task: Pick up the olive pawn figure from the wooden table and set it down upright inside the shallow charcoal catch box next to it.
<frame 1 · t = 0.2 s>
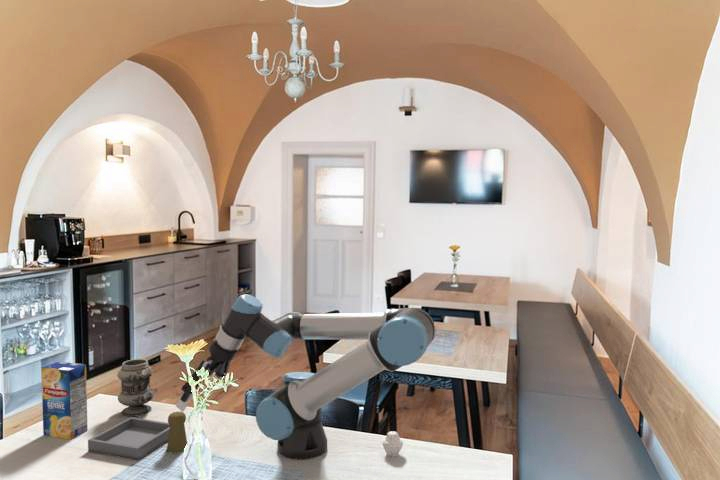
hand: (194, 400, 156), 16 cm above the table, tool tilted 30°, fingers open, 13 cm apart
stone urn vase: (136, 411, 189), on the table
olive pawn figure: (177, 449, 160), on the table
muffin: (392, 454, 158), on the table
catch box: (134, 442, 164), on the table
beverage box: (65, 433, 171), on the table
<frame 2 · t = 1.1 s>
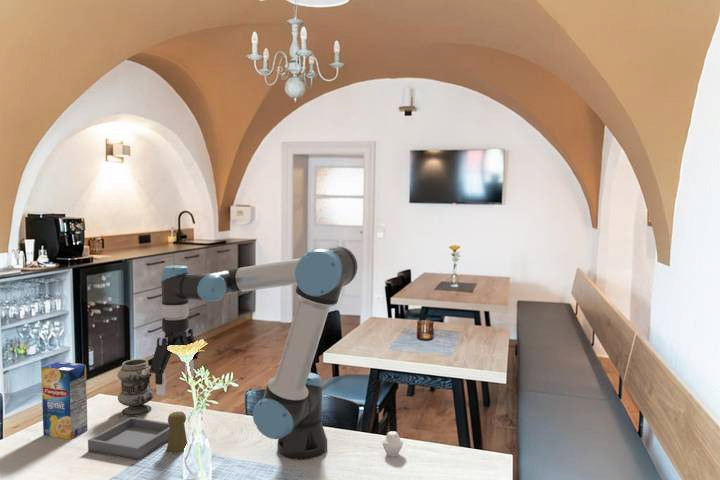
hand: (175, 387, 159), 19 cm above the table, tool pointing down, fingers open, 13 cm apart
nothing on the table moved.
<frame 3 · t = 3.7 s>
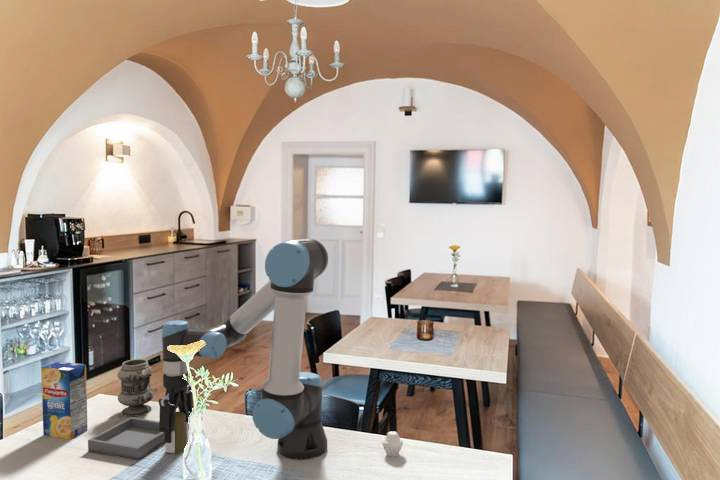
hand: (177, 447, 160), 0 cm above the table, tool pointing down, fingers closed on olive pawn figure, 6 cm apart
olive pawn figure: (177, 449, 160), on the table, touching gripper
everything else where it was.
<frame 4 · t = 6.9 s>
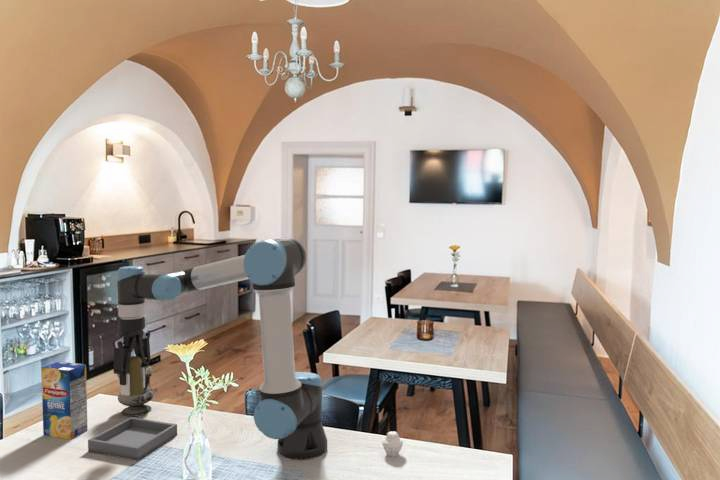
hand: (133, 390, 163), 16 cm above the table, tool pointing down, fingers closed on olive pawn figure, 6 cm apart
olive pawn figure: (133, 392, 163), point 16 cm above the table, touching gripper
everything else where it was.
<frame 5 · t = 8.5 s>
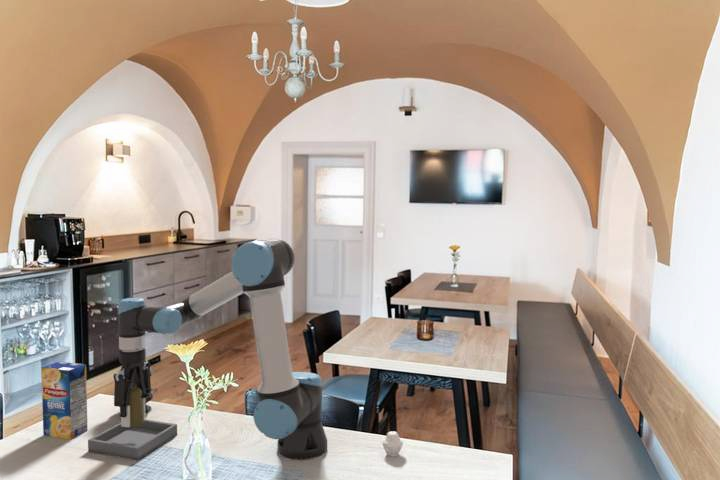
hand: (133, 422, 164), 7 cm above the table, tool pointing down, fingers closed on olive pawn figure, 6 cm apart
olive pawn figure: (133, 423, 164), point 6 cm above the table, touching gripper
everything else where it was.
when the fingers open (3 cm above the table, at t = 10.0 s): olive pawn figure drops 1 cm, resting on catch box.
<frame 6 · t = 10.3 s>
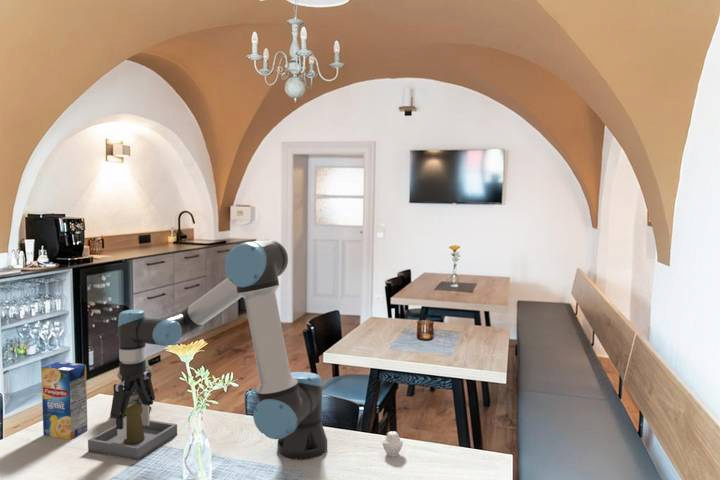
hand: (134, 431, 164), 4 cm above the table, tool pointing down, fingers open, 9 cm apart
olive pawn figure: (134, 440, 164), point 1 cm above the table, touching catch box
everything else where it was.
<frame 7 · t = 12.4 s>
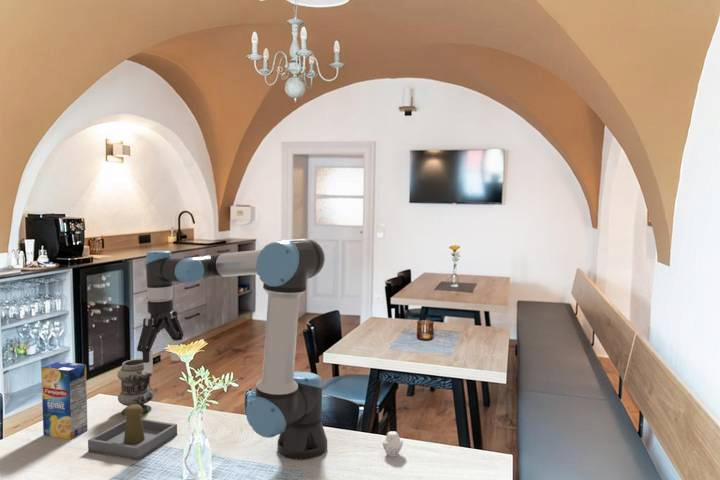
hand: (162, 366, 168), 23 cm above the table, tool pointing down, fingers open, 13 cm apart
nothing on the table moved.
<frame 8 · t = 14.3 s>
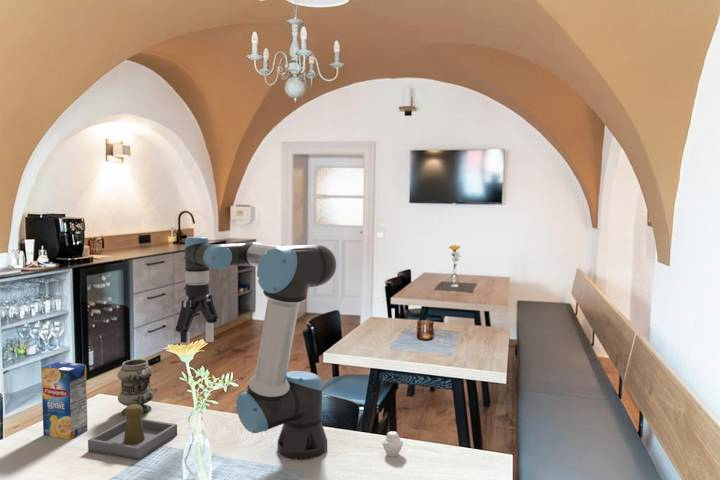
hand: (198, 346, 176), 27 cm above the table, tool pointing down, fingers open, 13 cm apart
nothing on the table moved.
at the end: olive pawn figure inside the target area on the catch box (0.0 cm from its centre), point 0.6 cm above the catch box's base; olive pawn figure tilted 0°; the gripper is holding nothing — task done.
